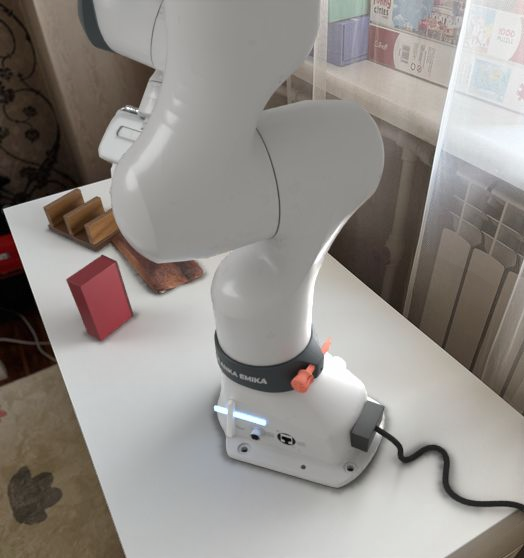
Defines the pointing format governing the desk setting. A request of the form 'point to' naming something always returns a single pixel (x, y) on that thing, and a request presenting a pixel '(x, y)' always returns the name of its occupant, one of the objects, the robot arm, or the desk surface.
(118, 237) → the brown flat bent piece
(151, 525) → the desk surface
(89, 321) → the book
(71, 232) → the book rack
